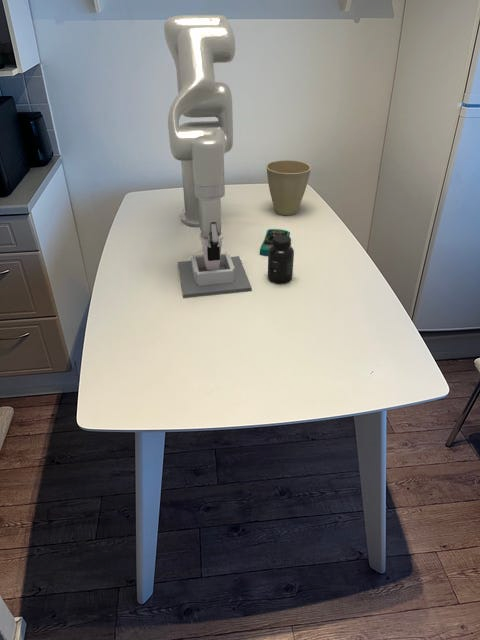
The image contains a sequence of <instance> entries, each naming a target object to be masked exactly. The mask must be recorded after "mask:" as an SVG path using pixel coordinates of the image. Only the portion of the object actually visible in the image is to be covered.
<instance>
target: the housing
mask: <svg viewBox="0 0 480 640" xmlns="http://www.w3.org/2000/svg"><path fill="white" fill-rule="evenodd" d="M190 259H191V260H185V261H183V260H182V261H177V268H178V273H179V279H180V284H181V289H182V296H183V298H184V299H186V298H195V297H196V298H197V297H204V296H216V295H224V294H235V293H243V292H252V291H253V290H252V289H253V288H252V285H251V283H250V280H249V277H248V275H247V273H246V270H245V267H244V265H243V263H242V260H241V258H240V256H239V255H237V256H231V255H230V253H228V252H221V256H220V265H219V269H217V270H208V269H206V266H205V260H204V255H203V254H195V255H192V257H190Z"/></svg>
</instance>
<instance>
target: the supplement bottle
mask: <svg viewBox="0 0 480 640" xmlns="http://www.w3.org/2000/svg"><path fill="white" fill-rule="evenodd" d="M294 258H295V250H294V248H293V247H292V238H291V237H289V236H287V235H276V236H274V237H273V242H272V246H271V247H270V248H269V251H268V256H267V279H268V281H270V282H271V283H273V284H276V285H277V284H278V285H284V284H287V283H290V282H291V281H292V279H293V273H294V260H295V259H294Z"/></svg>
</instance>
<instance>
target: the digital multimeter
mask: <svg viewBox="0 0 480 640" xmlns="http://www.w3.org/2000/svg"><path fill="white" fill-rule="evenodd" d="M290 234H291V232H290V231H289V230H286V229H280V228H270V229H267V230H266V233H265V237H264V239H263V242H262V244H261V246H260V248H259V255H261V256H267V257H268V251H269V248H270V247H271V246H272V242H273V237H274V236H276V235H287V236H289V237H290V236H291V235H290ZM290 238H291V237H290Z"/></svg>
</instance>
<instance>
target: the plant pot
mask: <svg viewBox="0 0 480 640" xmlns="http://www.w3.org/2000/svg"><path fill="white" fill-rule="evenodd" d="M311 169H312V167H311V165H310V164H309V163H306V162H303V161H299V160H294V159H289V160H288V159H282V160H281V159H280V160H275V161H271V162H269V163H267V164H266V175H267V184H268V188H269V189H268V190H269V193H270V194H269V195H270V198H271V201H272V205H273V207H274V212H275V213H277V214H278V215H282V216H291V215H294V214H295V215H296V213H297V211H298V209H299V207H300V204H301V203H302V200H303V198H304V195H305V192H306V188H307V185H308V182H309V178H310V174H311Z"/></svg>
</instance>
